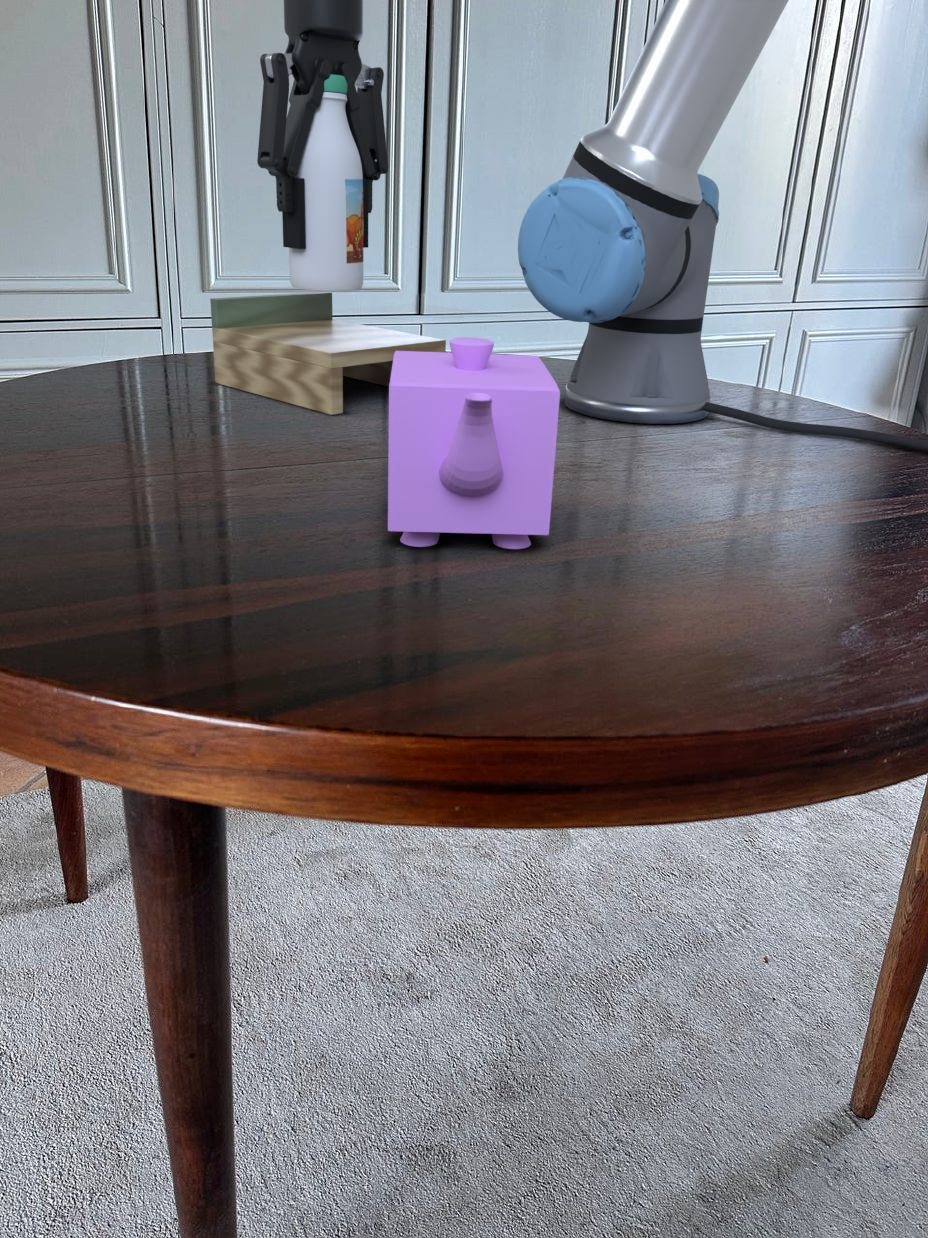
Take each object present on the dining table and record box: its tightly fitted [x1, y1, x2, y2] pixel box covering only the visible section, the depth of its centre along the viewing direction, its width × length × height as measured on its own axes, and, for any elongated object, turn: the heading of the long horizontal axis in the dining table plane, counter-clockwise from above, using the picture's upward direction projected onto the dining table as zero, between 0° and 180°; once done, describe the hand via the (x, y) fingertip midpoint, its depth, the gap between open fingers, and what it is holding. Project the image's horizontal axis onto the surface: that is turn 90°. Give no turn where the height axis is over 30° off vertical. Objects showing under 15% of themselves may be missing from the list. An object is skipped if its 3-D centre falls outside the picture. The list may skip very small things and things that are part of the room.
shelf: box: [209, 291, 447, 416], centre depth 107 cm, size 20×16×9 cm
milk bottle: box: [288, 74, 364, 293], centre depth 101 cm, size 8×8×20 cm
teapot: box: [387, 336, 561, 550], centre depth 64 cm, size 20×10×12 cm, turn 2°
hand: (326, 246), depth 103 cm, fingers closed on milk bottle, 8 cm apart
